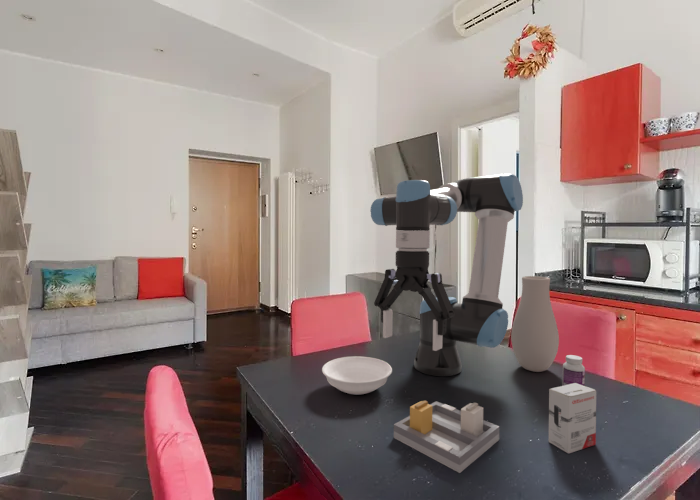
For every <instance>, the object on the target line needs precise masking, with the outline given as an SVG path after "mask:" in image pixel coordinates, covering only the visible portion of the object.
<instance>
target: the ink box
mask: <svg viewBox="0 0 700 500" xmlns="http://www.w3.org/2000/svg"><path fill="white" fill-rule="evenodd" d="M548 392H549V393H548V443H550V444H552V445H553V446H555V447H557V448H558V449H560V450H561V451H563V452H565V453H567V455H568V454H572V453H574V452H577V451H580V450H584V449H587V448H589V447H593V446H596V444H597V440H596V436H597V433H596V432H597V390H596V389H595V388H592V387H588V386H585V385H584V386H583V385H580V384H577V383H573V384H568V385H564V386H562V385H560V386H556V387H552V388H549V389H548Z"/></svg>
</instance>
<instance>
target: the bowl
mask: <svg viewBox="0 0 700 500" xmlns="http://www.w3.org/2000/svg"><path fill="white" fill-rule="evenodd" d="M321 372H322V373H323V375H324V376H325V377H326V380H327V382H328V384H329V385H330V386H332V387H334V388H336V389H337V390H338V391H341V392H343V393H345V394H346V393H347V394H349V395H356V396H357V395H364V394H369V393H372V392H374V391H375V390H378V389H379V388H381V387H383V386H384V385H385V384H386V383H387V381H388V378H389V376H391V374H392V373H393V367H392V366H391V365H390V364H389V363H388V362H387V361H385V360H382V359H379V358H375V357H369V356H356V355H354V356H342V357H338V358H334V359H332V360H329V361H328V362H326V363H324V365H322V368H321Z"/></svg>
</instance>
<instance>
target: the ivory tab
mask: <svg viewBox="0 0 700 500" xmlns="http://www.w3.org/2000/svg"><path fill="white" fill-rule="evenodd" d="M460 411H461V430H463V431H465V432H468V433H470V434H472V435H475V436H479V435H480V434H481V433H482V432H483V420H484V407H482V406H480V405H479V403H477V402H473V403H471V402H469V403H468V404H466V405H465V406H463V407H462V408H460Z"/></svg>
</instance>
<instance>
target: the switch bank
mask: <svg viewBox="0 0 700 500" xmlns="http://www.w3.org/2000/svg"><path fill="white" fill-rule="evenodd" d="M430 405H432V430H431V431H430V432H428V433H426V434H423V433H420V432H418V431H416V430H414V429H412V428H410V415H408V416H406V417H405V418H403V419H401V420H399V421H398V422H395V423H394V424H393V438H394V439H395V440H397V441H398V442H401V443H403V444H404V445H406V446H408V447H410V448H412V449H414V450H415V451H418V452H420V453H421V454H423V455H425V456H427V457H429V458H430V459H432V460H435V461H436V462H438V463H440V464H442V465H444V466H445V467H448V468H449V469H451V470H453V471H454V472H456V473H458V474H460V473H462V472H463V471H464V470H466V469H467V468H468V467H469V466H470V465H471V464H473V463H474V462H475V461H476V460H477V459H478V458H480V457H481V456H482V455H483V454H484V453H486V452H487V451H488V450H489V449H491V447H493V446H494V445H495V444H496V443H497V442H499V440H500V425H497V424H495V423H492V422H489V421H487V420H484V419H483V432H482V433H481V434H480V435H479V436H475V435H472V434H470V433H468V432H465V431H463V430H461V409H460V410H459V409H457V407H454V406H452V405H448V404H446V403H442V402H439V401H434V402H432V403H430Z"/></svg>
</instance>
